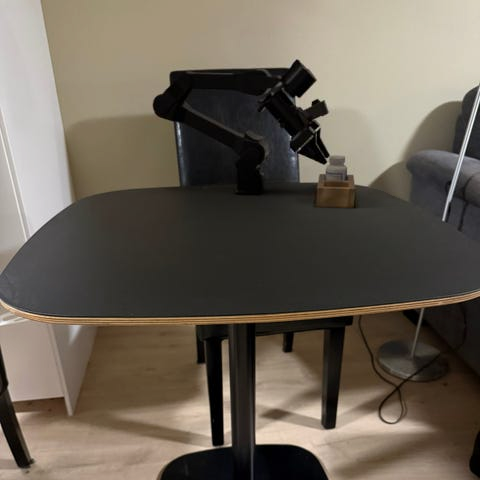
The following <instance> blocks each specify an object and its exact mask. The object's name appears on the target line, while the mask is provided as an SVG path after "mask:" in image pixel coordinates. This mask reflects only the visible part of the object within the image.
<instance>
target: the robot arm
mask: <svg viewBox="0 0 480 480" xmlns="http://www.w3.org/2000/svg"><path fill="white" fill-rule="evenodd" d="M317 82H318V79H317V78H316V76H315V74H313V72H312V71H311V70H310V68H307V67H306V66H305V65H304V64H303V63H302V62H301V60H300V59H295V60H294V61H293V62H292V64H291V65H290V67H289V68H288V69H287V70H286V71H285V72H284V73H283V75H282V76H281V75H273V74H271V73H270V72H269V70H267V69H264V68H258V69H251V70H246V71H245V70H244V71H240V72H235V73H231V72H229V73H228V72H227V73H225V72H195V71H192V70H189V71H182V72H181V73H180V74H179V76H178V77H177V78H176V79H175V80H174V81H173V82H171V84H169V86H168V87H167V88H166V89H165V90H164V91H163V92H162V93H160V94H157V95H156V96H155V97H154V98H153V101H152V110H153V112H154V114H155V116H156V117H158V118H160V119H163V120H166V121H170V122H174V123H179V124H184V125H186V126H188V127H190V128H191V129H193V130H196V131H197V132H199V133H202V134H204V135H205V136H207V137H209V138H211V139H213V140H215V141H216V142H218V143H221V144H223V145H225V146H226V147H228V148H230V149H232V150H233V151H234V153H235V154H236V155H237V156H238V157H239V158H238V159H237V160H236V162H234V166H235V168H236V169H235V170H236V191H235V194H238V195H261V193H262V191H263V190H264V186H265V182H264V181H265V178H264V177H265V174H264V172H263V171H262V169H263V168H262V163H263V161H265V160H266V159H267V158H268V156H269V154H270V146H269V143H268V141H266V140H265V139H264V136H262V135H259V134H257V133H256V132H254V131H253V130H251V129H250V130H247V131H246V132H244V133H240V132H238V131H237V130H234V129H233V128H230V127H229V126H226V125H225V124H222V123H221V122H220V121H219V122H218V121H217V120H215V119H214V118H211V117H210V116H207V115H205V114H203V113H201V112H199V111H197V110H195V109H194V108H192V107H191V105H189V103H187V101H186V100H187V99H188V97H189V95H190V94H191V92H192V91H193V90H194V89H195V90H223V91H225V90H226V91H228V90H230V91H236V92H239V93H242V94H246V95H250V96H254V97H259V96H262V95H266V94H267V95H266V96H265V97H264V98H263V99H259V100H257V113H258V114H259V113H262V112H264V110H265V109H266V110H267V111H268V112H269V114H270V115H271V116H272V117H273V118H274V120H276V122H278V124H279V125H278V126H279V127H280V129H283V130H284V131H285V132H286V133H287V134H288V136H290V140H289V148H290V149H291V150H292V152H293V153H294V154H295V153H296V154H297V155H300V156H303V157H305V158H307V159H309V160H312V161H314V162H317V163H318V164H321V165H323V166H326V165H327V163H328V160H327V159H329V157H330V156H331V155H330V152H329V151H328V149H327V147H326V145H325V143H324V141H323V139H322V137H321V133H322V127H321V123H319V122H318V120H317V119H318V118H320V117H324V116H326V115H328V114H329V113H330V111H329V109H328V108H329V107H328V106H327V103H326V100H324V99H323V100H320V99H319V98H316V99H314V100H312V101H311V105H310V106H309V107H307V108H305V109H303V108H302V107H301V106H297V105H296V104H295V103H294V101H293V100H294V99H295V98H297V99H301V98H302V97H303V96H304V95H305V94H306V92H308V91H309V90H310V88H311V87H312V86H313V85H314V84H315V83H317ZM277 87H278V89H277V90H276V91H275V92H273V91H271V89H272V88H277ZM290 97H291V98H292V99H293V100H292V99H291V98H290Z"/></svg>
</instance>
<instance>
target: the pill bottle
mask: <svg viewBox="0 0 480 480" xmlns="http://www.w3.org/2000/svg"><path fill="white" fill-rule="evenodd" d="M328 163H329V164H328V165H327V166H326V167H325V174H326V176H325V180H341V181H346V178H347V175H348V166H347V165H345V163H346V156H344V155H336V154H335V155H330V156H329V157H328Z"/></svg>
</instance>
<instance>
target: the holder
mask: <svg viewBox="0 0 480 480" xmlns="http://www.w3.org/2000/svg"><path fill="white" fill-rule="evenodd" d="M325 176H326V173H319V174H318V180H317V187H316V202H315V207H317V208H318V207H319V208H348V209H349V208H350V209H354V205H355V198H356V197H355V196H356V185H355V176H354V174H347V178H346V181H341V180H325Z"/></svg>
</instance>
